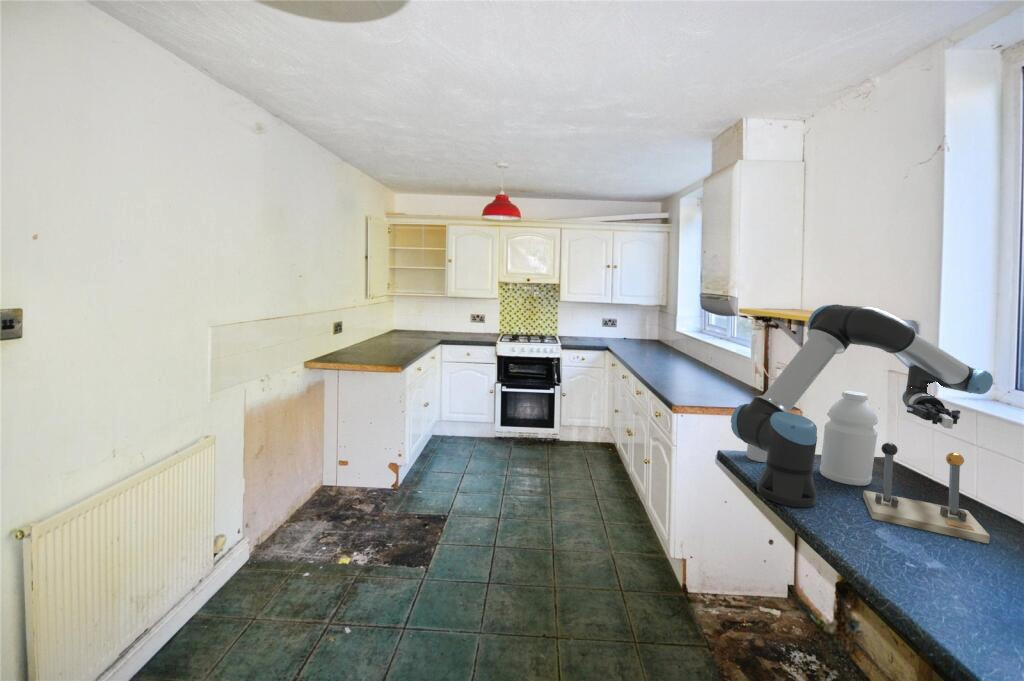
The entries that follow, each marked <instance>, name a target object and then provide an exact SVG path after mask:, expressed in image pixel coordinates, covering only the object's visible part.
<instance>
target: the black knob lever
mask: <svg viewBox="0 0 1024 681" xmlns="http://www.w3.org/2000/svg"><path fill="white" fill-rule="evenodd" d="M880 450H881V452H882V453H883V454H884V465H883V482H882V483H883V484H882V485H883V486H882V487H883V488H882V494H883V501H884V502H889V503H890V501H891V496H892V489H893V472H894V471H893V470H894V456H895V455H897V453H898V452H899V450H898V447H897V445H896V444H894V443H893V442H885V443H883V444H882V445H881V449H880Z"/></svg>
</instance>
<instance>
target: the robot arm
mask: <svg viewBox="0 0 1024 681" xmlns="http://www.w3.org/2000/svg"><path fill="white" fill-rule="evenodd" d="M807 330H808V331H807V332H806V335H807V340H806V341H805V342H804V344H802V347H801V348H800V349H799V350H798V351H797V353H796V354H795V355H794V357H793V358H792V359H791V360H790V361H789V363H788V364H787V366H785V368H784V369H783V370H782V371H781V373H779V375H778V377H777V378H776V379H775V380H774V382H773V383H772V384H771V385H770V387H768V388H767V390H766V392H765V393H764V394H763V395H757V396H754V398H753V399H752V400H751V401H750V403H743V404H739V405H738V406H737V407H736V408H735V409H734V410H733V413H732V414H731V418H730V424H731V425H730V426H731V430H732V433H733V434H734V436H736V438H737V439H739V440H741V441H743V443H745V444H747V445H748V444H751V445H753V446H755V447H757V448H759V449H761V450H764V451H766V452H767V461H766V462H765V463H766V464H765V467H764V469H763V471H762V473H761V475H760V477H759V479H758V481H757V484H756V492H757V494H759V496H761V497H763V498H764V499H766V500H768V501H771V502H773V503H776V504H778V505H779V504H780V505H783V506H787V507H793V508H801V509H803V508H804V509H806V508H811V507H815V505H817V500H818V495H817V494H818V493H817V490H816V485H815V483H814V482H815V481H814V477H813V473H814V472H813V471H814V463H815V456H816V448H817V443H818V442H817V441H818V427H817V425H816V424H815V422H814V421H812V419H810V418H808V417H805V416H803V415H801V414H795V413H794V412H791V410H792V409H793V408H794V406H795V405H796V404H797V402H799V400H800V399H801V398H802V397H803V396H804V394H805V393H806V391H807V390H808V389H809V388H810V386H811V385H812V384H814V381H815V380H816V379H817V378H818V376H819V375H820V374H821V372H822V371H823V370H824V369H825V367H826V366H827V365H828V364H829V363H830V361H831V360H832V358H834V357H835V355H840V354H843V353H845V352H846V350H847V349H848V348H849V346H850V345H857V346H864V347H865V346H866V347H872V348H877V349H880V350H881V351H884V352H886V353H889V354H897V355H898V356H900V357H901V358H903V359H905V360H906V361H908V362H909V363H910V362H911V365H910V364H909V366H908V373H907V374H908V375H907V381H906V382H907V383H906V387H905V390H904V392H903V394H902V395H901V396H902V398H901V399H902V402H903V404H904V406H905V407H907V408H906V413H908V414H911V415H914V416H916V417H919V418H920V419H922V420H924V421H930V422H931V421H932V422H931V424H934V425H938V424H939V425H941V427H943V428H944V429H950V430H952V429H953V426H954V425H957V424H958V420H959V419H960V417H961V410H959V409H952V410H951V411H950V409H949V408H946V407H945V405H944V403H943V402H942V401H941V400H940V399H938V398H937V397H935V395H934V396H932V395H930V394H928V393H927V387H928V385H927V384H928V383H929V384H930V383H933V382H935V381H936V382H938V383H939V384H940V385H941V386H943V387H942V388H944V387H945V388H944V389H950V390H955V391H959V392H963V393H964V392H965V393H969V394H976V395H984V394H986V393H988V392H989V391H991V390H990V389H991V388H992V386H993V383H994V378H993V375H992V373H990V372H989V371H987V370H984V369H981V368H973V367H971V366H969V365H968V364H966V363H964V362H962V361H961V360H959V359H957V358H956V357H954V356H953V355H951V354H949V353H948V352H946V351H944V350H943V349H942V348H940V347H938V346H937V345H935V344H934V343H932V342H931V341H929V340H927V339H926V338H924V337H922V336H920V334H918V333H917V332H916V329H915V327H913V326H912V325H910V324H909V323H907V322H905V320H902V319H900V318H899V317H896V315H893V314H891V313H890V312H887V311H884V310H882V309H879V308H876V307H871V306H859V305H858V306H857V305H842V304H838V303H837V304H826V305H822V306H820V307H818V308H816V309H814V311H813V312H812V313H811V314H810V316H809V317H808V324H807ZM911 387H912V388H911Z"/></svg>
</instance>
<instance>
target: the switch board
mask: <svg viewBox="0 0 1024 681" xmlns="http://www.w3.org/2000/svg"><path fill="white" fill-rule="evenodd" d="M862 497H863V500H864V502H865V505H866V507H867V509H868V513H869V514H870V517H871V519H873V520H876V521H880V522H885V523H890V524H896V525H901V526H904V527H905V526H906V527H909V528H914V529H919V530H923V531H928V532H933V533H937V534H942V535H947V536H951V537H955V538H959V539H965V540H970V541H973V542H974V541H975V542H978V543H983V544H989V543H990V538H991V535H990V534H989V533H988V532H987V531H986V530H985V529H984V527H983V526H982V525H981V524H980V523H979V521H977V519H976V518H975V517H974V516H973V515H972V514H971V513H970V511H969V510H967V509H963V508H959V513H958V516H954V515H950V514H949V510H948V507H949V505H942V504H937V503H932V502H927V501H923V500H916V499H910V498H905V497H902V496H900V497H899V496H894V495H891V501H890V503H889V502H884V501H883V493H882V492H881V493H879V492H874V491H869V490H864V489H863V494H862Z"/></svg>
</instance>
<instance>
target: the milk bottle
mask: <svg viewBox="0 0 1024 681" xmlns="http://www.w3.org/2000/svg"><path fill="white" fill-rule="evenodd" d="M746 448H747V449H746V457H747V458H748V459H750V460H751V461H754V462H759V463H766V461H767V452H766V451H764V450H761V449H759V448H757V447H755V446H753V445H751V444H747V446H746Z"/></svg>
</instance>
